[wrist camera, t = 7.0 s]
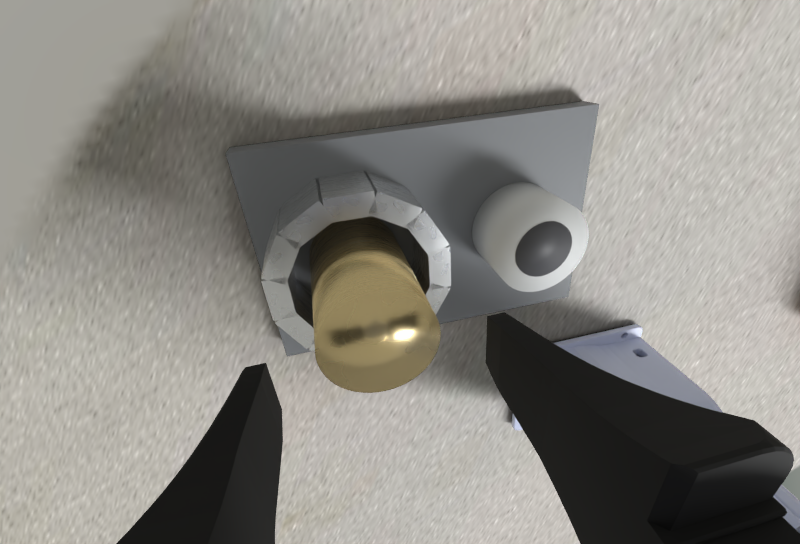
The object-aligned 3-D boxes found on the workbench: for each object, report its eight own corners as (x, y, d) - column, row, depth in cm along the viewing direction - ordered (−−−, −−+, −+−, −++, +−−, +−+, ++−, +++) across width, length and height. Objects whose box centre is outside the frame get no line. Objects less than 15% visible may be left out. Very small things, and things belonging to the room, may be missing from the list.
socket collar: (427, 161, 18) (448, 179, 16) (434, 303, 22) (452, 336, 20) (248, 187, 17) (239, 211, 14) (290, 332, 21) (289, 372, 18)
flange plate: (583, 101, 20) (648, 112, 16) (557, 286, 25) (601, 326, 22) (229, 147, 17) (211, 173, 13) (287, 342, 23) (285, 398, 19)
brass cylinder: (394, 207, 19) (439, 280, 13) (401, 285, 21) (442, 378, 15) (301, 222, 18) (303, 305, 12) (318, 300, 20) (327, 403, 14)
